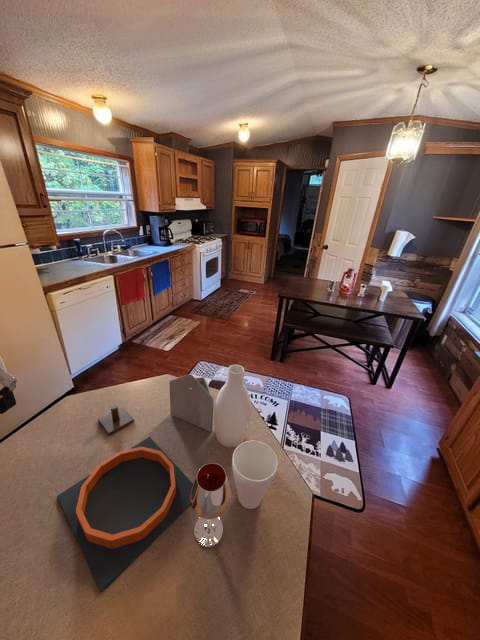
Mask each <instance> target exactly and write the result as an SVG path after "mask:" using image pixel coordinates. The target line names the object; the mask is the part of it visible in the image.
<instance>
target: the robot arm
mask: <svg viewBox="0 0 480 640" xmlns="http://www.w3.org/2000/svg"><path fill="white" fill-rule="evenodd" d="M17 382H18V379H17V378H16V377H15V376H14V375H12V374H11V373H9V372H8V371H7V369H6V366H5V363H4V359H3V357H2V355H1V354H0V384H1V386H2V388H1V389H0V415H3V414H5V413H6V412H7V411H9V410H11V409H12V408H13V407H15V406H16V405H17V400H16V397H15V394H14V392H13V391H15V389H16V388H17Z"/></svg>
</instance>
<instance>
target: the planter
mask: <svg viewBox="0 0 480 640" xmlns="http://www.w3.org/2000/svg"><path fill="white" fill-rule="evenodd" d="M168 388H169V408H170V411H169V412H170V415H171V416H173V417H175V418H178V419H180V420H183V421H184V422H187V423H189V424H191V425H193V426H196V427H198V428H200V429H202V430H205V431H207V432H209V433H213V425H214V424H213V423H214V406H215V402H214V401H215V397H214V395H213V393H212V390H211V388H210V385H209V384H208V381H207V379H206V377H205V376H200V377H199V376H198V377H195V376H194V375H193V374H191V373H189V374H185V375H182V376H179V377H177V378H174V379H171V380H169V387H168Z"/></svg>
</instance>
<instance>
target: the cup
mask: <svg viewBox="0 0 480 640" xmlns="http://www.w3.org/2000/svg"><path fill="white" fill-rule="evenodd" d="M231 463H232V465H231V466H232V467H231V468H232V473H233V479H234V482H235V485H236V490H237V499H238V502H239V504H240V505H241V506H242V507H243V508H245V509H248V510H253V509H256V508H258V507H259V506H260V505H261V503H262V500H263V497H264V495H265V494H266V492H267V491H268V489H269V488H270V486H271V484H272V482H273V480H274V479H275V477H276V473H277V470H278V467H279V461H278V456H277V454H276V453H275V451H274V449H272V447H271V446H269V444H267V443H265V442H263V441H259V440H254V439H251V440H246V441H243V442H242V443H241V444H240V445H238V446H236V448H234V451H233V453H232V461H231Z"/></svg>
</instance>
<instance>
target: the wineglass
mask: <svg viewBox="0 0 480 640" xmlns="http://www.w3.org/2000/svg"><path fill="white" fill-rule="evenodd" d="M192 483H193V485H192V488H191V492H190V502H191V505H190V507H191V508H192V510H193V512H194V513H195V514H196V516H198V517H199V518H198V519H197V521H196V523H195V525H194V529H193V533H194V537H195V536H196V537H198V538H199V540H200V539H201V540H200V541H199V540H198V539H197V540H198V541H199V542H201V541H202V540H203V539H204V540H203V541H202V542H201V543H202V544H203V543H204V544H203V545H202V544H201V545H202V547H203V546H204V545H205V544H206V543H207V544H206V545H205V547H204V548H212V547H214V546H216V545H217V544H218V543H219V542H220V541H221V539H222V537H223V533H224V525H223V522H222V520H221V519H220V517H221V516H222V515H223V514H224V513H225V512H226V511H227V509H228V508H229V506H230V503H231V499H232V497H231V496H232V491H231V484H230V482H229V478H228V475H227V473H226V470H225V469H224V467H223V466H222V465H221V464H219V463H216V462H209V463H205V464H204V465H202V466H201V467H200V468H199V469H198V471H197V473H196V476H195V478H194V479H193V482H192ZM198 525H199V526H198ZM199 527H200V528H199ZM198 528H199V529H198ZM195 531H197V532H198V533H197V534H196V533H195ZM205 540H206V541H205ZM209 543H211V544H209ZM213 543H214V544H213ZM208 544H209V545H208ZM212 544H213V546H212V547H211V546H210V545H212ZM215 544H216V545H215ZM198 545H200V543H198ZM201 545H200V546H201Z"/></svg>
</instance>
